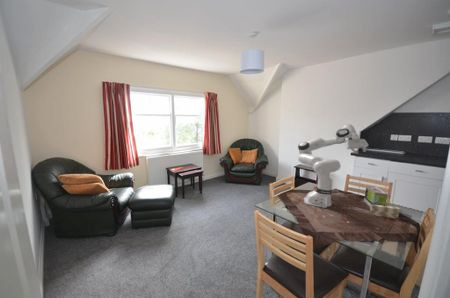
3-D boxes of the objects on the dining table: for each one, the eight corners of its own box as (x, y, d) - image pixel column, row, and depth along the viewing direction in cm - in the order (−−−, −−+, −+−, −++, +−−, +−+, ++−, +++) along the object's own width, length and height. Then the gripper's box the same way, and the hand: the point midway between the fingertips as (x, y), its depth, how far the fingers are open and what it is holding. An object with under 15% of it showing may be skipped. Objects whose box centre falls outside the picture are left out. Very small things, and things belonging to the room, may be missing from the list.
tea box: (385, 210, 168) (388, 193, 165) (371, 209, 170) (374, 192, 167) (375, 202, 182) (378, 186, 179) (363, 201, 184) (365, 185, 181)
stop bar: (370, 215, 161) (372, 205, 159) (369, 213, 163) (370, 204, 162) (397, 218, 156) (399, 209, 154) (395, 216, 159) (397, 207, 157)
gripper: (362, 140, 200) (368, 152, 194) (342, 141, 198) (348, 154, 192) (366, 136, 195) (372, 149, 188) (346, 138, 193) (352, 151, 187)
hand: (360, 152), depth 190 cm, fingers open, 8 cm apart
